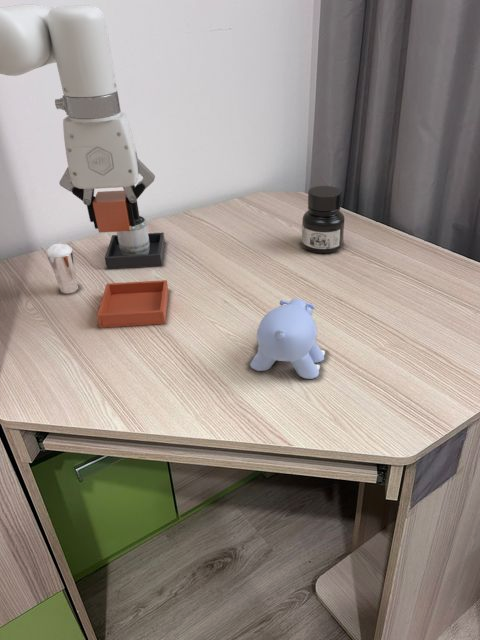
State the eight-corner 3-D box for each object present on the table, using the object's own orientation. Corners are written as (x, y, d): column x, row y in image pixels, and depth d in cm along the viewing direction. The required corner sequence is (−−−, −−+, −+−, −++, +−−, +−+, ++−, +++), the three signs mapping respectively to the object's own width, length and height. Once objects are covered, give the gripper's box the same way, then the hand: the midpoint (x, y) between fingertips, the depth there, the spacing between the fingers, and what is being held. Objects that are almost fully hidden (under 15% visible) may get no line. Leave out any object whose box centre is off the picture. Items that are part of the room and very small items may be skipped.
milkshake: (48, 291, 103) (34, 243, 97) (73, 281, 106) (61, 234, 100) (61, 299, 100) (47, 250, 95) (86, 289, 104) (74, 241, 98)
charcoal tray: (106, 269, 110) (104, 258, 109) (114, 245, 119) (112, 235, 118) (161, 266, 111) (160, 255, 109) (165, 242, 120) (163, 232, 118)
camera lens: (139, 262, 111) (133, 226, 107) (115, 256, 114) (108, 221, 109) (156, 250, 116) (151, 215, 111) (132, 245, 118) (126, 210, 113)
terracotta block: (98, 232, 87) (92, 202, 84) (103, 220, 91) (97, 191, 88) (130, 231, 87) (124, 201, 84) (133, 218, 91) (128, 190, 88)
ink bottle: (294, 250, 116) (295, 195, 109) (307, 234, 122) (309, 181, 115) (338, 257, 113) (341, 201, 105) (349, 240, 119) (353, 187, 112)
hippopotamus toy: (332, 334, 90) (335, 283, 84) (314, 390, 78) (316, 336, 73) (269, 325, 92) (269, 275, 87) (243, 378, 81) (240, 325, 75)
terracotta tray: (99, 327, 93) (96, 315, 91) (109, 295, 102) (106, 283, 100) (165, 323, 93) (163, 311, 92) (168, 291, 102) (167, 280, 101)
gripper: (26, 115, 75) (58, 237, 85) (150, 109, 76) (166, 230, 86) (40, 103, 81) (68, 218, 91) (154, 98, 82) (169, 213, 92)
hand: (116, 223), depth 89 cm, fingers closed on terracotta block, 5 cm apart
